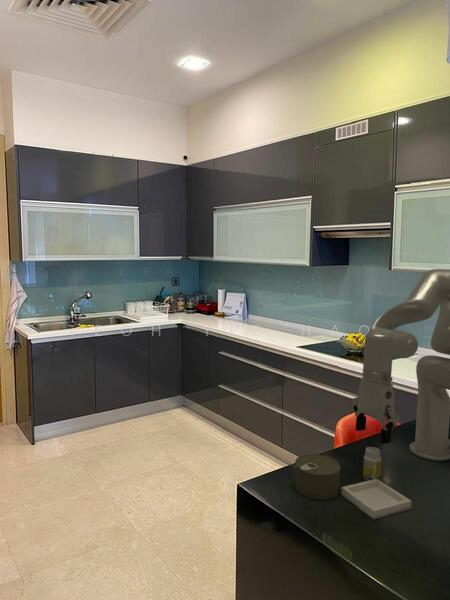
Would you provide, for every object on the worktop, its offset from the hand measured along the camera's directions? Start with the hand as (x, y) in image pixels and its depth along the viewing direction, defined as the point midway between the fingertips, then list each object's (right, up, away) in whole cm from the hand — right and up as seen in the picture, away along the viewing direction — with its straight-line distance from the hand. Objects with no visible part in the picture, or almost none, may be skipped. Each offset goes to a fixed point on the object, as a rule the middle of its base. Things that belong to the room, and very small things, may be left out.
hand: (372, 436), depth 125 cm
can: (-17, -13, -4) cm, 21 cm away
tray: (-3, -13, -11) cm, 18 cm away
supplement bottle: (0, -13, +2) cm, 13 cm away
